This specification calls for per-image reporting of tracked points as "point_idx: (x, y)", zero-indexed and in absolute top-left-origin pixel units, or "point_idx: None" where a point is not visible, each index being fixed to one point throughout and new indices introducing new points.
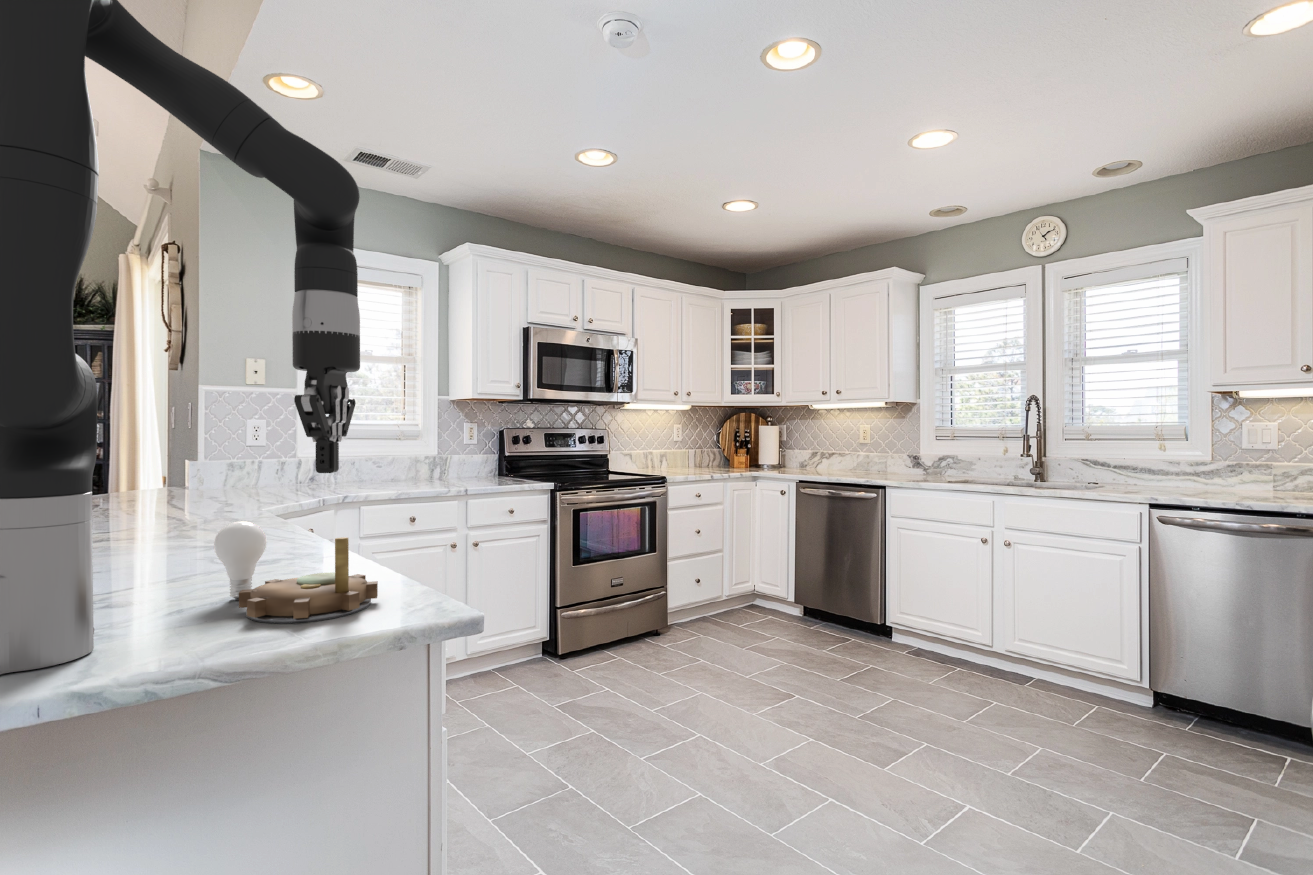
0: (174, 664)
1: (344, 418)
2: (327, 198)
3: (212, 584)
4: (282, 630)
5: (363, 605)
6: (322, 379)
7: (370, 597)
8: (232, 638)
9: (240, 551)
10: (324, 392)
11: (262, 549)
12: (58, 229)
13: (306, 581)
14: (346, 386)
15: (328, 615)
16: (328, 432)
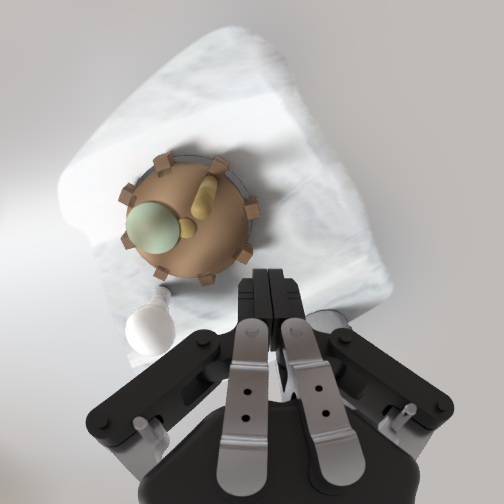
0: (356, 250)
1: (250, 373)
2: None
3: (121, 328)
4: (276, 209)
5: (196, 157)
6: (416, 484)
7: (173, 158)
8: (296, 241)
9: (171, 321)
10: (394, 449)
11: (148, 309)
12: None
13: (173, 238)
14: (164, 497)
15: (238, 180)
16: (350, 336)
